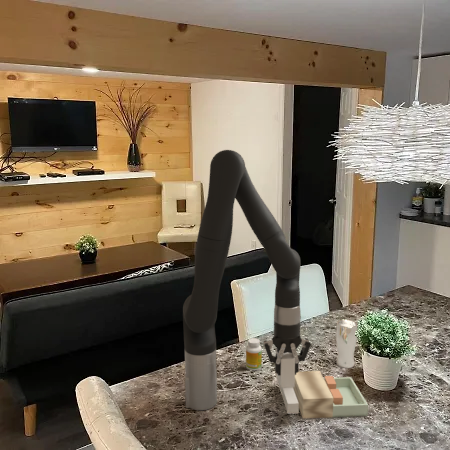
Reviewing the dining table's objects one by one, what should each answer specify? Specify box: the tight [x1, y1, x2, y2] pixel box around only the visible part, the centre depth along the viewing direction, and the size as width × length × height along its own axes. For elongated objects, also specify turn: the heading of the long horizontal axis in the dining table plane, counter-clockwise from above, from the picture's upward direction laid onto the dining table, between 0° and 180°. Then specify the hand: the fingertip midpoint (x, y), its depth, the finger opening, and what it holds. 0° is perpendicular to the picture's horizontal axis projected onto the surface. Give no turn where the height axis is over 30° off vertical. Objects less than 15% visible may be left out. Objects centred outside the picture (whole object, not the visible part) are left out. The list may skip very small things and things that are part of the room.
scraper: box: [275, 352, 300, 415], centre depth 133 cm, size 4×20×12 cm, turn 3°
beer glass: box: [335, 319, 358, 369], centre depth 157 cm, size 7×7×15 cm
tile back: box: [324, 375, 336, 390], centre depth 139 cm, size 4×4×2 cm
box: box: [323, 376, 369, 418], centre depth 136 cm, size 10×15×4 cm, turn 3°
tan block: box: [293, 370, 334, 420], centre depth 135 cm, size 8×15×6 cm, turn 3°
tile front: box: [330, 389, 343, 405], centre depth 132 cm, size 4×4×2 cm
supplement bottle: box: [245, 337, 263, 371], centre depth 156 cm, size 5×5×10 cm
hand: (286, 373), depth 133 cm, fingers closed on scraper, 4 cm apart
